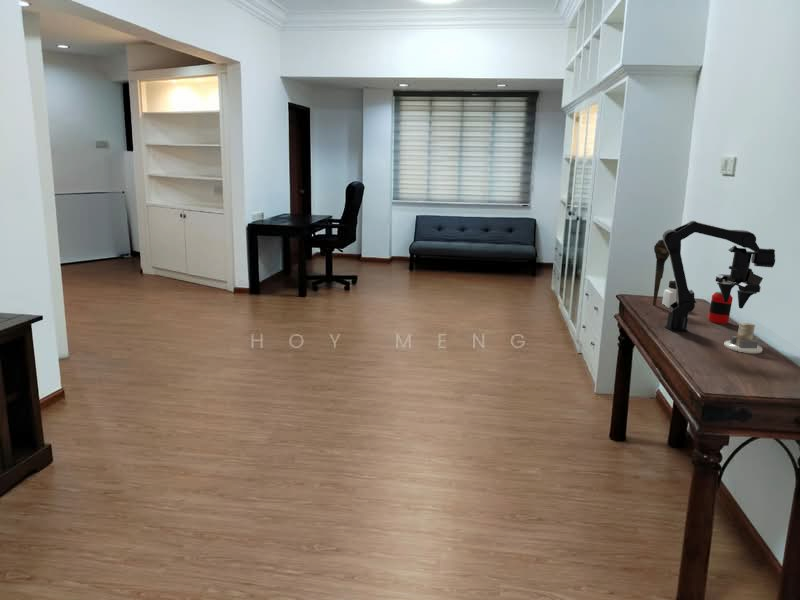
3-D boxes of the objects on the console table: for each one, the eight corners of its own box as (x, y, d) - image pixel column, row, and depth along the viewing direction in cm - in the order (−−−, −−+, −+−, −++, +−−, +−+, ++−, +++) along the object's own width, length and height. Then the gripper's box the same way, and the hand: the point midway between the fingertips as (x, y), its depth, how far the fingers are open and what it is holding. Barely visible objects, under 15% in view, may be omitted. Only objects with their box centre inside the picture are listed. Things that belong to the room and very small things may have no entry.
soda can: (704, 320, 252) (708, 292, 249) (714, 318, 256) (719, 290, 253) (721, 324, 246) (726, 296, 243) (731, 322, 250) (737, 294, 247)
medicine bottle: (684, 308, 269) (688, 282, 267) (668, 308, 270) (672, 282, 267) (677, 305, 276) (681, 279, 274) (661, 304, 276) (665, 278, 274)
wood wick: (739, 346, 214) (743, 324, 212) (735, 344, 216) (739, 323, 214) (750, 346, 214) (755, 324, 212) (747, 344, 216) (751, 323, 214)
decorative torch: (659, 307, 269) (669, 241, 262) (643, 304, 274) (653, 239, 266) (664, 305, 274) (674, 240, 267) (648, 302, 279) (658, 238, 271)
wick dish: (738, 353, 209) (740, 344, 208) (716, 342, 220) (718, 333, 219) (769, 353, 210) (771, 344, 209) (746, 343, 222) (748, 333, 221)
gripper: (778, 270, 216) (769, 312, 220) (745, 261, 234) (738, 299, 238) (748, 269, 215) (740, 311, 219) (718, 260, 233) (711, 299, 237)
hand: (733, 305), depth 228 cm, fingers open, 9 cm apart
